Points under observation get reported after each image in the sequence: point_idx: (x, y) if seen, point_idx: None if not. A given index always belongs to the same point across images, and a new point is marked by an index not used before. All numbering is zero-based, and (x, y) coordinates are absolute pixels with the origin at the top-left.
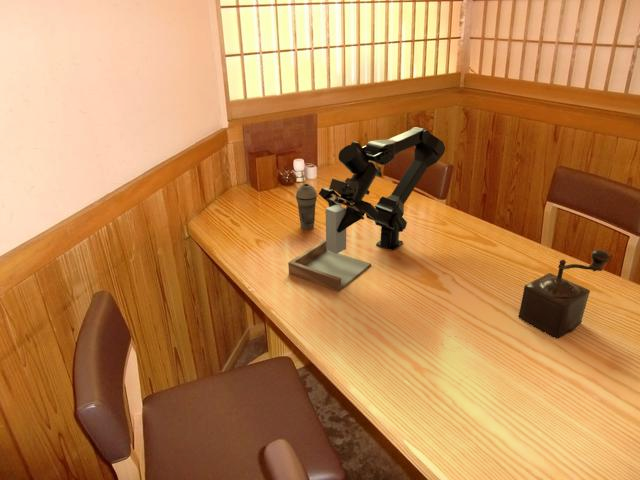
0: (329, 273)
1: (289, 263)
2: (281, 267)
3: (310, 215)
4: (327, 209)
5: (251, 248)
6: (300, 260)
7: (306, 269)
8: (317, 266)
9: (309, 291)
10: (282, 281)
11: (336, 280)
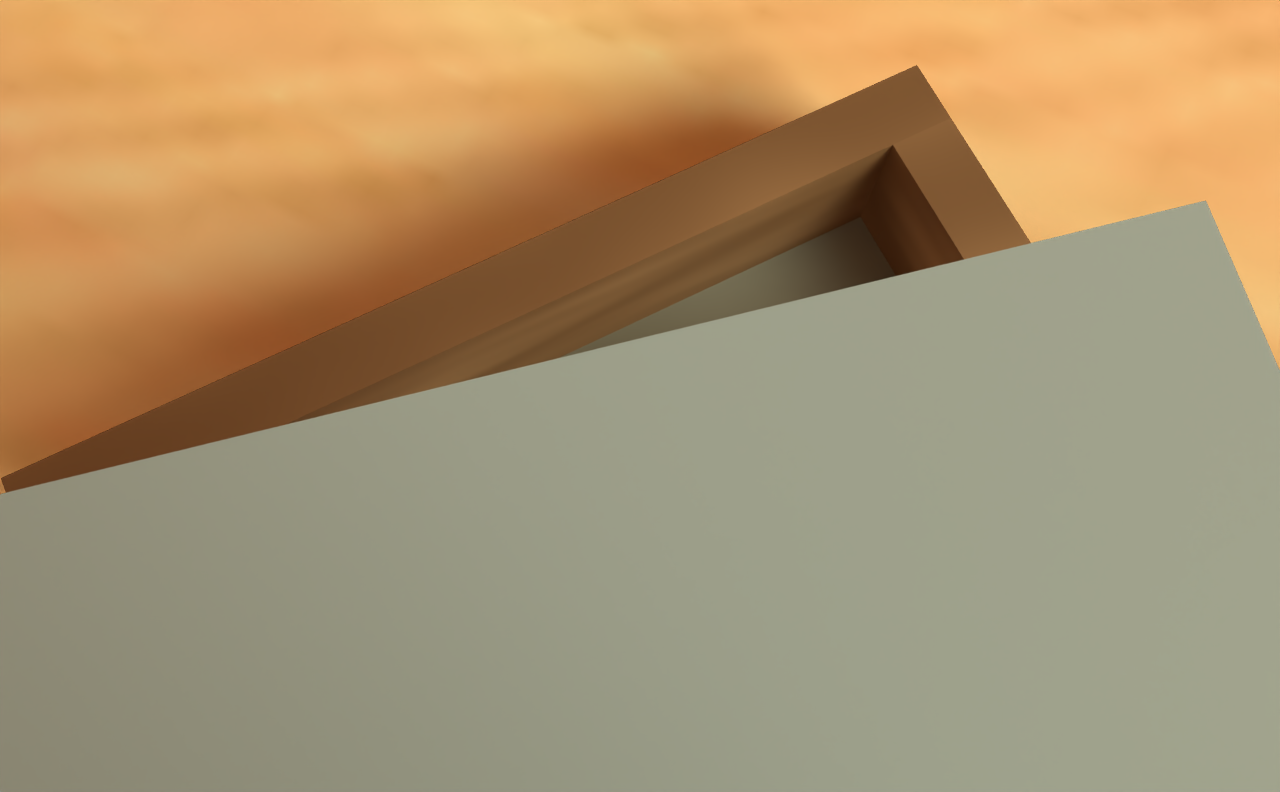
0: None
1: (893, 78)
2: (1075, 140)
3: None
4: (934, 276)
5: None
6: None
7: (595, 215)
8: None
9: (332, 199)
10: (726, 21)
11: (48, 465)
